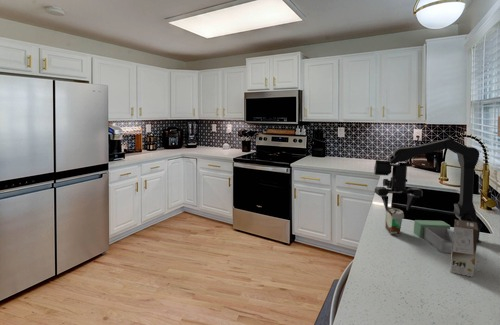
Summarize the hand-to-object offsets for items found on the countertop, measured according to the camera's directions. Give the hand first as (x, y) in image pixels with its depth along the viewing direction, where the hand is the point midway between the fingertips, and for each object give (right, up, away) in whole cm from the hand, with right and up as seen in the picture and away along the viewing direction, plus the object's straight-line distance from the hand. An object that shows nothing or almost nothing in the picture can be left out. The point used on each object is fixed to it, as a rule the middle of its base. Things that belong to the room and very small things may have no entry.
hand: (396, 210), depth 133 cm
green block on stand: (+13, -12, -10) cm, 20 cm away
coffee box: (+6, -15, -33) cm, 37 cm away
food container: (0, -11, +1) cm, 11 cm away
